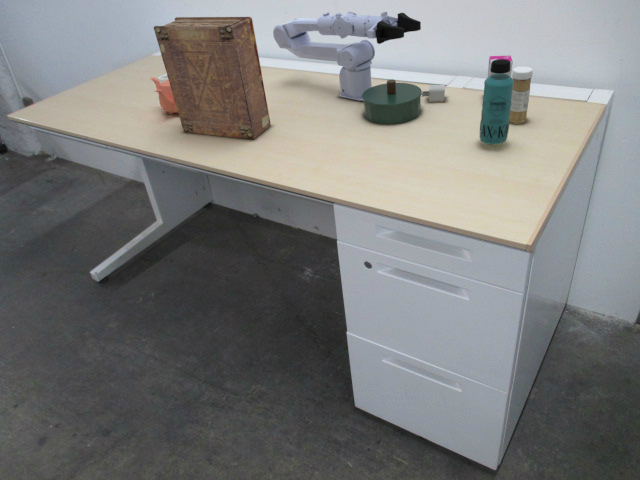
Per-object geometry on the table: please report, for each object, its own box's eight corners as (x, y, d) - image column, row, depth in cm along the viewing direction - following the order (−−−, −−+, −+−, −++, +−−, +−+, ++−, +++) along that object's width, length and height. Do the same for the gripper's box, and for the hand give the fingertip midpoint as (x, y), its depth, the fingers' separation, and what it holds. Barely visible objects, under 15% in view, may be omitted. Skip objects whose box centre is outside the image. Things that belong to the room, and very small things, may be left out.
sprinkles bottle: (517, 115, 135) (523, 64, 127) (530, 121, 131) (537, 68, 123) (503, 120, 133) (508, 68, 125) (516, 126, 130) (522, 73, 122)
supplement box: (508, 102, 142) (513, 61, 135) (486, 103, 143) (489, 62, 136) (506, 95, 146) (510, 54, 140) (485, 96, 148) (488, 55, 141)
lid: (399, 112, 133) (398, 95, 131) (350, 102, 143) (349, 86, 140) (433, 91, 142) (433, 75, 140) (385, 83, 152) (384, 68, 149)
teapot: (208, 111, 163) (200, 77, 157) (164, 122, 160) (153, 88, 154) (201, 97, 175) (192, 65, 168) (159, 107, 172) (149, 75, 165)
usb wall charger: (444, 102, 147) (444, 88, 145) (419, 103, 149) (419, 89, 147) (444, 97, 151) (444, 83, 148) (420, 98, 152) (420, 84, 150)
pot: (399, 128, 137) (398, 109, 133) (354, 118, 146) (352, 99, 143) (430, 108, 145) (430, 89, 142) (386, 99, 154) (385, 81, 151)
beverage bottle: (474, 140, 126) (480, 58, 114) (501, 137, 126) (509, 54, 114) (484, 152, 120) (490, 67, 109) (512, 148, 120) (521, 63, 109)
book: (183, 132, 152) (152, 26, 135) (201, 119, 159) (174, 17, 141) (254, 140, 141) (231, 26, 124) (271, 126, 148) (251, 16, 130)
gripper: (353, 17, 138) (394, 20, 129) (386, 5, 146) (426, 7, 137) (355, 44, 141) (395, 48, 133) (387, 31, 150) (427, 34, 141)
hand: (411, 29), depth 135 cm, fingers open, 7 cm apart
